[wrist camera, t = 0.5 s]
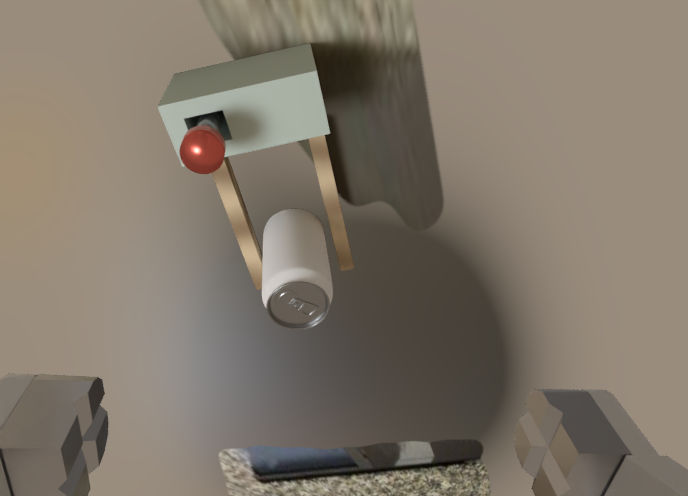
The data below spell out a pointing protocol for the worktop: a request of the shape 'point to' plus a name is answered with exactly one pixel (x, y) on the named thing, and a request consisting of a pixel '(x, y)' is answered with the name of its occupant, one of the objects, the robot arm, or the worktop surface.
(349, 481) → the worktop surface
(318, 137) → the rails
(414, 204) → the worktop surface
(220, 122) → the plunger
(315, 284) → the can
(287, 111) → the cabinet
